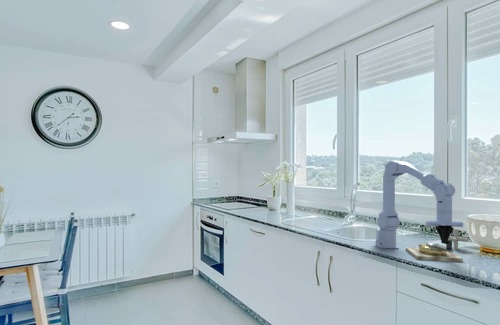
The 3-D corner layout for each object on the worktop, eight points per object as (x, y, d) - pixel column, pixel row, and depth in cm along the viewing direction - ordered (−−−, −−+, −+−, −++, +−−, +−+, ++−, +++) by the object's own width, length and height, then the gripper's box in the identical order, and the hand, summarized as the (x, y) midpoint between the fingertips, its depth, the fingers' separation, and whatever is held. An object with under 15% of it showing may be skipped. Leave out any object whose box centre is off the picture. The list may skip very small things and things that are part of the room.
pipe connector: (445, 245, 163) (445, 226, 164) (468, 248, 157) (468, 228, 157) (442, 249, 156) (442, 228, 156) (466, 252, 149) (466, 231, 150)
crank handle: (413, 249, 148) (413, 233, 148) (432, 248, 150) (432, 232, 150) (440, 259, 132) (440, 241, 133) (461, 257, 135) (461, 240, 135)
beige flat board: (417, 259, 137) (417, 255, 137) (405, 250, 153) (405, 246, 153) (462, 262, 134) (462, 258, 134) (446, 252, 150) (446, 248, 150)
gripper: (431, 212, 132) (431, 245, 131) (467, 213, 130) (467, 246, 130) (423, 210, 139) (423, 241, 138) (457, 210, 138) (457, 242, 137)
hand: (444, 243), depth 135 cm, fingers closed
